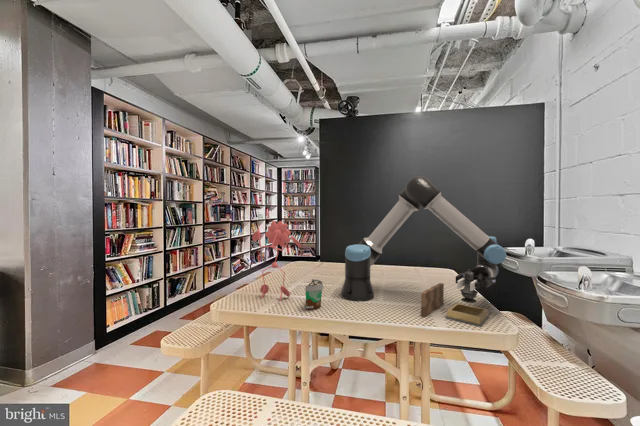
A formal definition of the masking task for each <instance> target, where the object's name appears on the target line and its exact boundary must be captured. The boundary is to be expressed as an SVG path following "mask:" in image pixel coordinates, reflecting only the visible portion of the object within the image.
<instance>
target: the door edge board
mask: <svg viewBox="0 0 640 426" xmlns="http://www.w3.org/2000/svg"><path fill="white" fill-rule="evenodd" d="M444 285H445V284H444V283H443V282H438V284H436V285H433V286H432V287H430V288H427V289H425V290H423V291H422V292H421V293H420V295H421V296H420V298H421V299H420V304H421V306H420V317H422V318H423V317H424V318H426V317H427V316H429V315H431V313H434V312H435V311H436V310H438V309H439V308H441V307H442V306H443V305H444V293H445V292H444V291H445V290H444V289H445V288H444Z"/></svg>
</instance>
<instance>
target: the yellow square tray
mask: <svg viewBox="0 0 640 426" xmlns="http://www.w3.org/2000/svg"><path fill="white" fill-rule="evenodd" d="M489 318H490V315H488V309H487V308H482V307H477V306H473V305H467V304H461V303H455V304H454V305H452V306H451V307H449V308H448V309H447V311H446V316H445V319H447V320H449V321H450V320H451V321H455V322H458V323H459V322H460V323H464V324H467V325H471V326H475V327H481V328H482V327H483V325H484V324H485V323H486V322H487V321H488V320H489Z"/></svg>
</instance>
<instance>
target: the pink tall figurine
mask: <svg viewBox="0 0 640 426" xmlns="http://www.w3.org/2000/svg"><path fill="white" fill-rule="evenodd" d="M288 225H289V224H287V223H284V222H283V221H282V220H279V221H278V222H277V223H276V221H275V220H272V221H271V224H270V225H268V226H267V230H268V231H266V232H265V233H264V235H265V237H266V238H268V240H267V243H268V244H271V245H263V246H262V243H261V236H262V234H261V232H260V231H259V230H257V231H254V232H253V233H252V235H251V239H252V241H253V242H257V241H258V242H259V243H258V244H259V248H271V249H273V250H275V251H276V256H275V260H274V261H273V262H272V263H271V266H269V267H267V268H265V269H263V270H262V271H261V272H262V280H263V284H262V285H261V287H260V292H261V293H262V294H261V299H262V300H263V298H264V296H265V295H266V294H268V292H269V291H270V290H269V289H270V288H269V285H268V284H266V282H265V281H266V280H265V274H264V272H265V271H266V270H268V269H270V268H273V269H277V268H279V270H281V271H282V273H283V276H285V273H286V272H285V271H284V270H283V269H282V268H281V267H280V266H279V265H278V263H277V259H278V255H279V251H281V252H283V250H284V249H285V248H286V246H287V245H288V244H289V242H290V241H291V240H292V242H294V244H295V245H296V246H298V247H299V248H301V249H303V246H302V244H301V243H300V241H299V240H298V239H297V238H295V237H294V236H292V235H291V233H292V232H291V231H290V230H289V229H288ZM290 235H291V236H290ZM289 236H290V237H289ZM278 246H280V247H281V248H279V247H278ZM282 280H283V281H282V285H281V286H280V287H279V289H280V296H279V301H280V302H281V301H282V296H283V295H285V296H287V298H290V297H291V294H292V292H291V291H289V290H288V289H287V288H286V287H285V277H283V279H282ZM293 302H294V300H292V301H291V303H293Z"/></svg>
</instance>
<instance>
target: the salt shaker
mask: <svg viewBox="0 0 640 426" xmlns="http://www.w3.org/2000/svg"><path fill="white" fill-rule="evenodd" d="M467 269H468V268H467ZM464 275H465V280H464V282H465V286H463V288H460V289H459V291H460V293H461V296H462V297H463V298H460V300H461V302H464V303H469V304H471V303H472V304H474V303H475V304H476V303H478V300H476V297H477V296H478V293H479V292H478V291H477V290H476V289H474V290H473V291H470V283H471V282H472V281H473V272H471V269H470V268H469V269H468V270H467V271H465V272H464Z"/></svg>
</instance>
